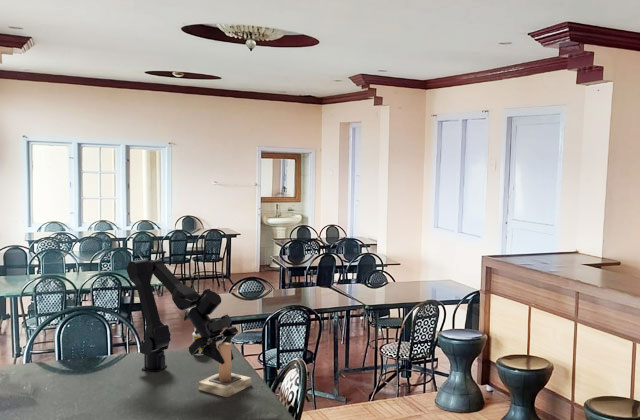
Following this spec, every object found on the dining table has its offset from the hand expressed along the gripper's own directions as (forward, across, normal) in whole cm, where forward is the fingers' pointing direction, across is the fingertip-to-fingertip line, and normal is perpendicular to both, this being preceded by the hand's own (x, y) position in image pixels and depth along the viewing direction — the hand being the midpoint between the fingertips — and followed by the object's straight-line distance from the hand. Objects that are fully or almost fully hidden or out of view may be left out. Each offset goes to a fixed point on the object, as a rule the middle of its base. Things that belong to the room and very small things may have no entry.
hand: (228, 361), depth 186 cm
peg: (+4, 0, +6) cm, 7 cm away
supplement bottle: (-16, +21, +29) cm, 40 cm away
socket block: (+5, 0, +7) cm, 9 cm away
